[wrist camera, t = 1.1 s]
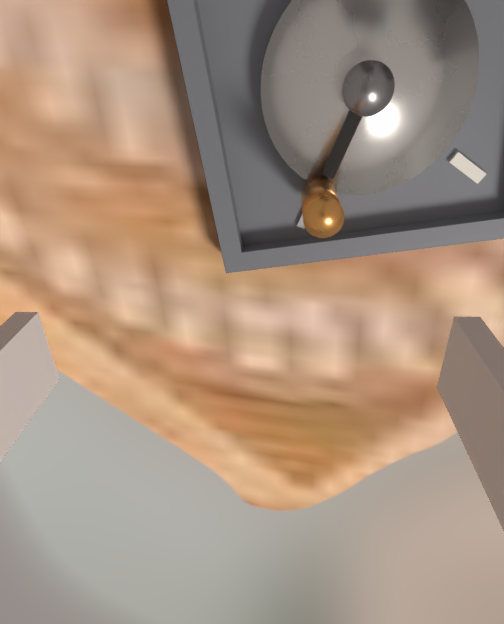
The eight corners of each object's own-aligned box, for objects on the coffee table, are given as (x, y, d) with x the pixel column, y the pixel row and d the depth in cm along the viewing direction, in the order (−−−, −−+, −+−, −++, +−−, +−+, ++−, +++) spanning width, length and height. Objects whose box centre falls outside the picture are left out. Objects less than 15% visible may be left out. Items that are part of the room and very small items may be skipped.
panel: (157, -92, 25) (144, -107, 23) (574, -198, 22) (607, -227, 19) (229, 259, 36) (225, 273, 33) (516, 222, 32) (533, 234, 30)
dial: (245, -16, 25) (234, -38, 20) (481, -68, 23) (541, -108, 18) (277, 212, 32) (275, 244, 26) (462, 186, 30) (502, 214, 25)
